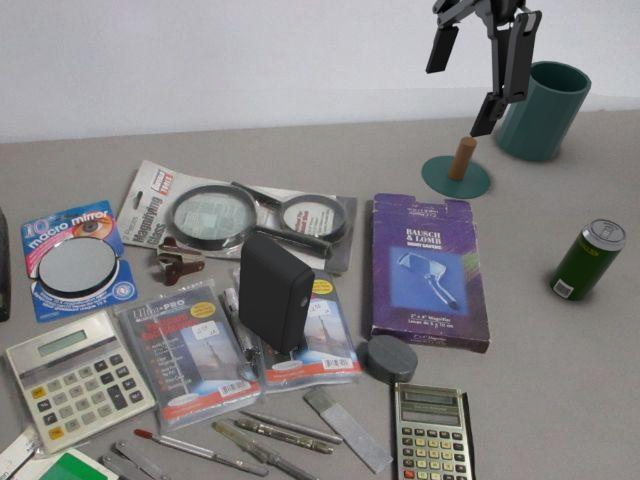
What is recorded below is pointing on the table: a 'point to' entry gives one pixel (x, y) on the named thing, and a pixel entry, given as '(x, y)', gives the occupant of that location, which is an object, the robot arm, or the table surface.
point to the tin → (544, 111)
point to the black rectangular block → (274, 292)
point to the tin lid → (457, 173)
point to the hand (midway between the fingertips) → (456, 101)
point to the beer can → (588, 259)
